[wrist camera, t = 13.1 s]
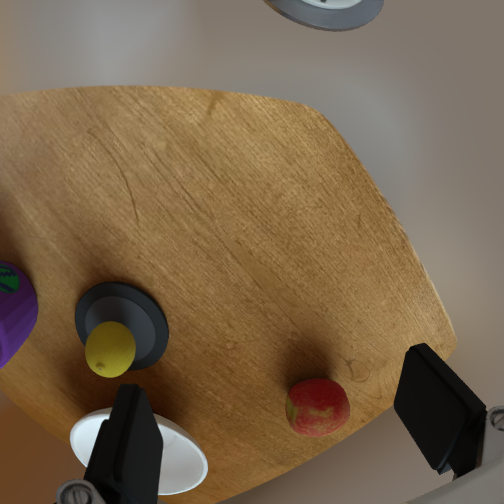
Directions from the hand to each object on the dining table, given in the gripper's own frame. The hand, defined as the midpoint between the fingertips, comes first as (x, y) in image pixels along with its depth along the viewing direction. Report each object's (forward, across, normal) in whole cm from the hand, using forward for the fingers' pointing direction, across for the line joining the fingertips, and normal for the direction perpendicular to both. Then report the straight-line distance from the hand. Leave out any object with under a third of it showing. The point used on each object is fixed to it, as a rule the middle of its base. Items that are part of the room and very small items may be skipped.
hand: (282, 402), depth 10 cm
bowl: (+24, +17, +28) cm, 41 cm away
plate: (+25, +15, +10) cm, 31 cm away
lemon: (+24, +15, +10) cm, 30 cm away
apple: (+25, -8, +23) cm, 35 cm away
